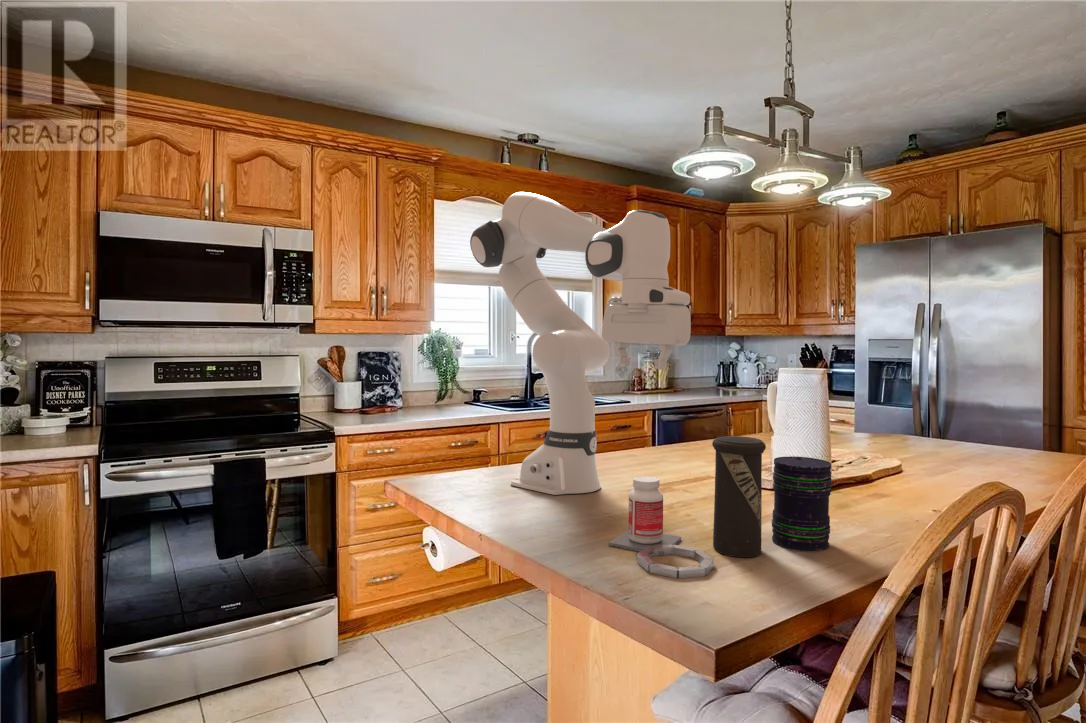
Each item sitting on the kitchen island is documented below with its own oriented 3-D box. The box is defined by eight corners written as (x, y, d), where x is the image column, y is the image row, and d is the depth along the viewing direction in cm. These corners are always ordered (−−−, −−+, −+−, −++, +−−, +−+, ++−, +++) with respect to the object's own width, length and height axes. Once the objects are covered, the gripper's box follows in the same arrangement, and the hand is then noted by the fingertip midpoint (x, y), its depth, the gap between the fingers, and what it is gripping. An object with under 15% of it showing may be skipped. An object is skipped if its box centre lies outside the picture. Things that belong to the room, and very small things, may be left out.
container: (734, 561, 104) (736, 442, 103) (700, 545, 112) (702, 434, 111) (774, 554, 107) (777, 439, 106) (738, 539, 115) (740, 431, 115)
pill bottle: (669, 541, 112) (670, 480, 112) (644, 547, 109) (645, 484, 108) (646, 532, 117) (647, 473, 117) (621, 537, 114) (622, 477, 113)
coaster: (608, 545, 111) (608, 542, 111) (630, 531, 120) (630, 527, 120) (662, 556, 106) (662, 552, 106) (681, 540, 115) (681, 536, 115)
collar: (628, 568, 100) (628, 560, 100) (653, 547, 110) (654, 541, 110) (699, 583, 94) (699, 575, 94) (719, 560, 104) (719, 552, 104)
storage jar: (836, 554, 108) (839, 468, 107) (777, 550, 110) (779, 465, 109) (821, 536, 118) (823, 457, 117) (767, 532, 119) (768, 455, 119)
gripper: (596, 295, 126) (593, 364, 126) (674, 293, 110) (671, 371, 110) (618, 297, 130) (615, 363, 130) (697, 295, 113) (694, 371, 114)
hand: (641, 367), depth 120 cm, fingers open, 8 cm apart
